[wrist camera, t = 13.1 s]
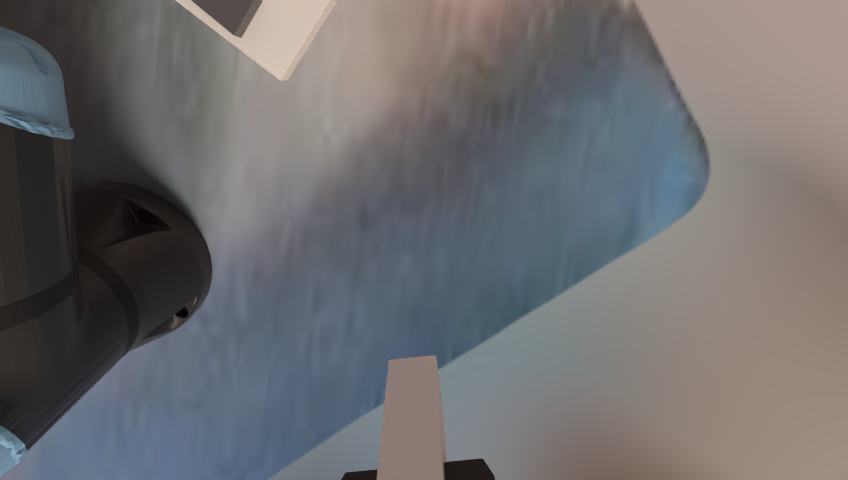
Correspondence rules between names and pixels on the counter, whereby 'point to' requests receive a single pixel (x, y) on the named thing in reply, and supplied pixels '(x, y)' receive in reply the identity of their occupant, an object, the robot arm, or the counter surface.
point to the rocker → (231, 13)
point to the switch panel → (275, 31)
